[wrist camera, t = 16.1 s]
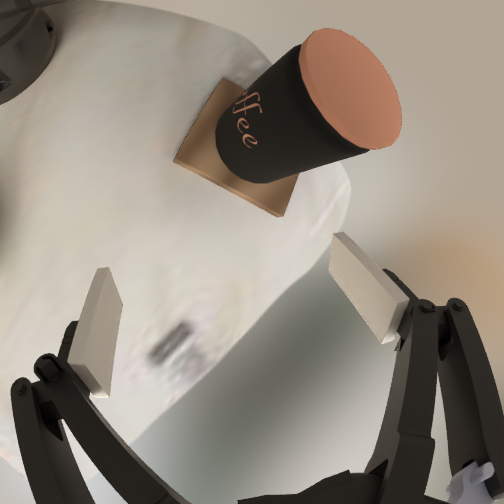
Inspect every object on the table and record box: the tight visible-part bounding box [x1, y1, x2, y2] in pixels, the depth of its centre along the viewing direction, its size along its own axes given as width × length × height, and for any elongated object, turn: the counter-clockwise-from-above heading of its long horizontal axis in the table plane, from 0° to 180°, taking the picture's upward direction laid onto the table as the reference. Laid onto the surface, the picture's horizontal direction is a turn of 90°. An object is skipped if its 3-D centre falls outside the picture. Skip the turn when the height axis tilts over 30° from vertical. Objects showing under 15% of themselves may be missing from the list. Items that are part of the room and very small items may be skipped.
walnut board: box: [173, 77, 299, 217], centre depth 34 cm, size 15×13×2 cm
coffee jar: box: [215, 28, 402, 184], centre depth 25 cm, size 11×11×18 cm
